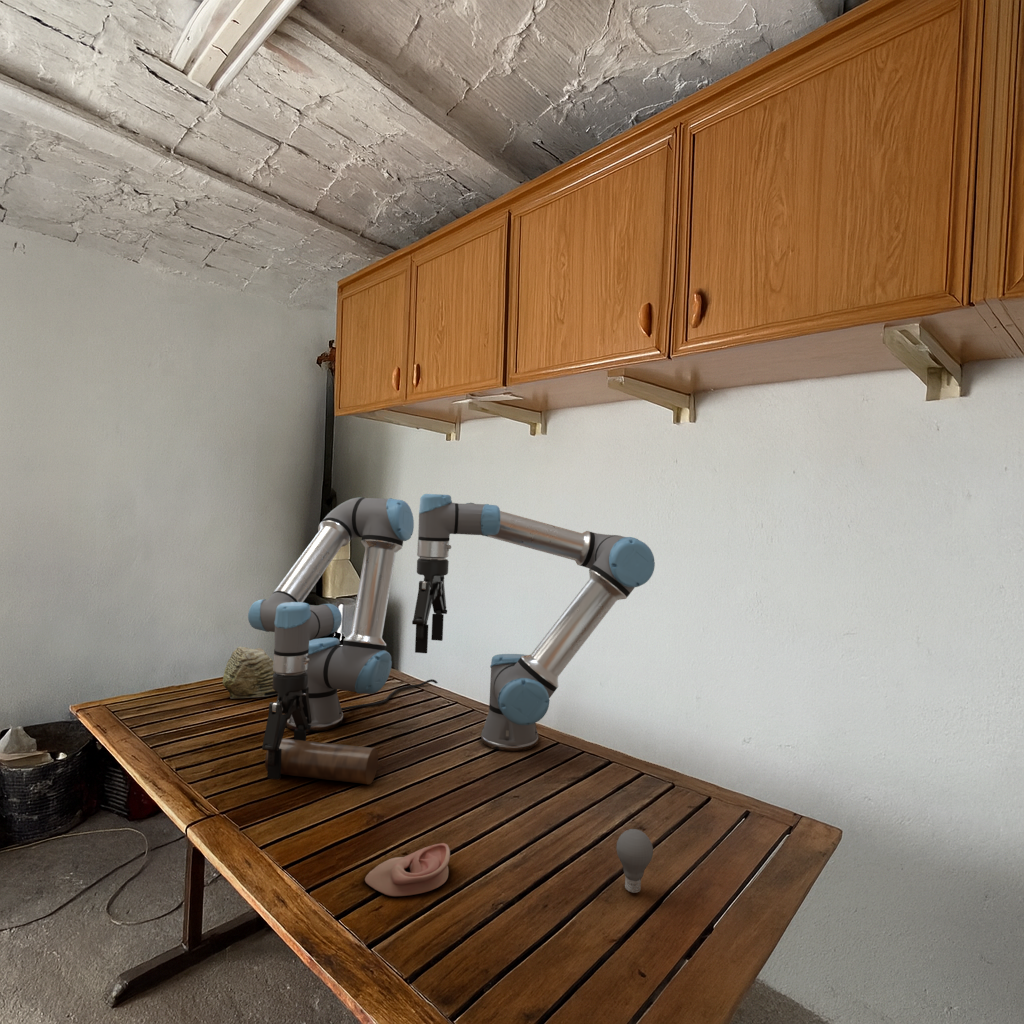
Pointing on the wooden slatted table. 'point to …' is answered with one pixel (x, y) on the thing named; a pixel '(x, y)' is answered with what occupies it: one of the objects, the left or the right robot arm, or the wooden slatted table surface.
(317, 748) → the rod
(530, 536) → the right robot arm
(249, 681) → the fossil
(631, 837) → the light bulb
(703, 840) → the wooden slatted table surface
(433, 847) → the anatomical model
